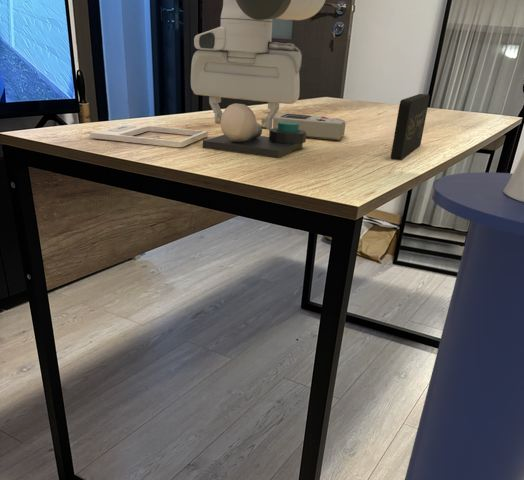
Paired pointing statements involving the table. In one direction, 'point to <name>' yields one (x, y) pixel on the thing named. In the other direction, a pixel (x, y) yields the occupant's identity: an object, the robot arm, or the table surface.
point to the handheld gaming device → (314, 125)
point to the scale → (261, 143)
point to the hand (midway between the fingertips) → (243, 126)
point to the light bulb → (239, 123)
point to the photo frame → (128, 130)
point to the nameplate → (409, 125)
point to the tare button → (288, 127)
